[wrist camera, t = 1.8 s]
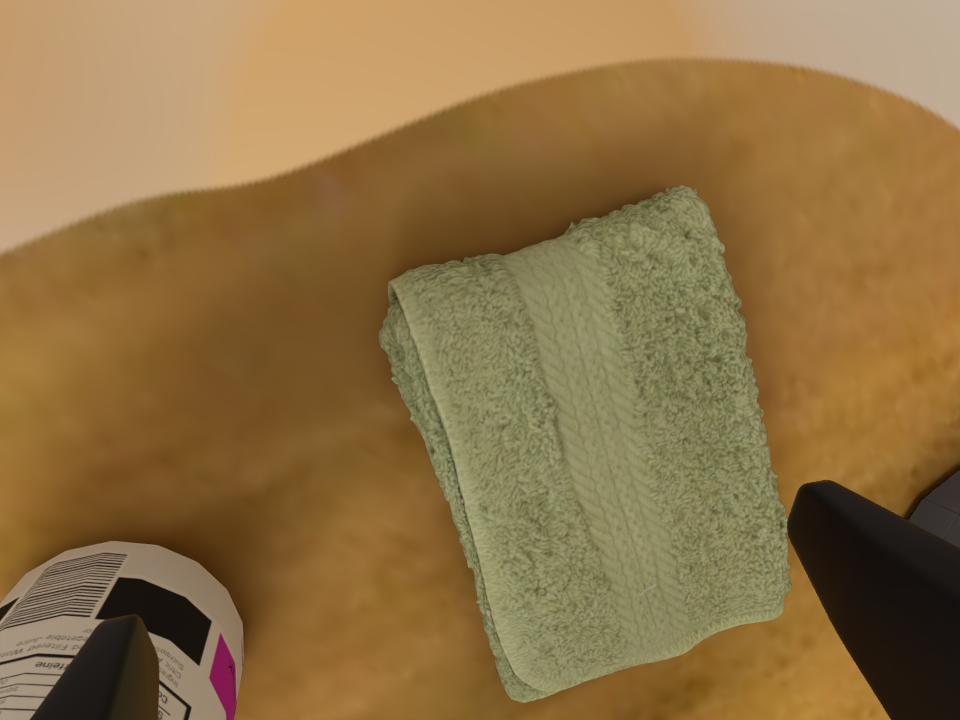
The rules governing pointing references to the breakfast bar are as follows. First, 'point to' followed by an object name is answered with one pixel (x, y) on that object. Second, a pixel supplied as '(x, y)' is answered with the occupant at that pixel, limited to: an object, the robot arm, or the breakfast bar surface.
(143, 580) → the supplement can
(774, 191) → the breakfast bar surface
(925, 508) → the bowl
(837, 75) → the breakfast bar surface
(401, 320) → the washcloth
